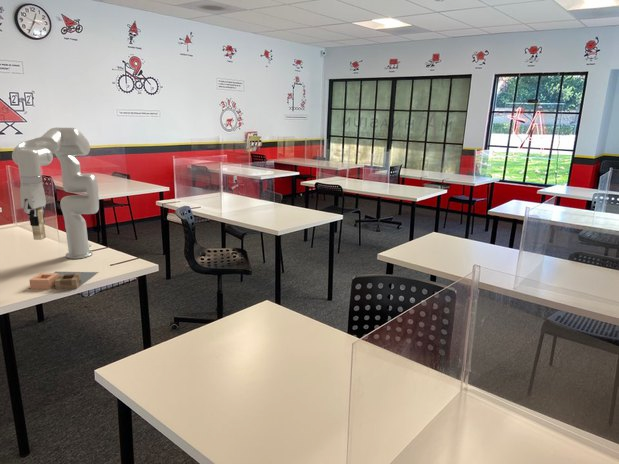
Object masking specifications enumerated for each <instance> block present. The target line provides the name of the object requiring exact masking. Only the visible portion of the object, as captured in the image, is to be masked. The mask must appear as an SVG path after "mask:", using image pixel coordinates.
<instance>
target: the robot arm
mask: <svg viewBox="0 0 619 464" xmlns="http://www.w3.org/2000/svg"><path fill="white" fill-rule="evenodd" d="M90 151H91V145H90V143H89V141H88V139H87V137H85V136H84V134H83V133H82V132H81V131H80V130H79V129H77V128H75V127H52V128H49V130H47V131H46V132H44V134H43V135H41V136H39V137H35V138H33V139H28V140H26V141H23V142H20V143H19V144H18V145H16V146H15V147H14V149H13V150H12V153H11V158H12V161H13V163H14V164H15V165H17V166H18V173H19V180H20V187H19V195H20V207H21V209H22V210H23V212H24V213H26V214H27V215H28V218H29V225H30V226H31V227H32V226H39V221H38V216H37V214H36V209H37V208H39V207H42V213H43V220H44V224H45V216H44V214H45V208H46V206H47V201H46V200H47V199H46V198H47V197H46V194H45V189H44V185H43V184H44V183H43V176H42V170H41V168H42V166H43V167H44V166H49V165H50V164H51V163H52V162H53V158H54V155H55V156H56V158H57V159H58V161H59V162H60V166H61V168H60V170H61V182H62V183H61V184H62V189H63V190H64V192H67V193H72V194H73V193H74V194H75V193H77V194H76V195H66V196H63V197H62V198H61V200H60V203H59V205H60V206H59V207H60V209H61V212H62V215H63V220H64V227H65V235H66V241H67V242H66V243H67V250H68V252H67V253H65V258H67V259H69V260H73V259H74V260H76V259H77V260H78V259H79V260H80V259H84V258H89V257H91V256H93V251H92V250H90V248H91V247H92V243H89V239H88V238H89V237H88V229H87V222H86V220H85V218H84V217H83V216H82V215H94V214H97V213H98V211H99V210H100V199H99V183H98V179H97V177H96V176H95V174H92V173H82V171H81V163H80V161H79V160H78V159H77V158H76V157H79V156H81V157H84V156H87V155H88V154H89V153H90ZM80 193H82V195H81V194H80ZM83 193H84V194H85V193H86V194H87V195H86V194H85V195H84V194H83ZM79 194H80V195H79ZM30 207H31V208H32V209H30ZM31 210H33V212H32V211H31Z"/></svg>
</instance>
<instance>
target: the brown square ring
mask: <svg viewBox="0 0 619 464" xmlns="http://www.w3.org/2000/svg"><path fill="white" fill-rule="evenodd" d="M80 283H81V276H80V273H74V274H60V275H59V276H58V278H57V279H56V280H55V286H56V289H55V291H59V290H60V291H62V290H70V289H76V288H77V289H79V288H78V286H79V284H80ZM77 289H76V290H77Z"/></svg>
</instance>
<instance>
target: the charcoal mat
mask: <svg viewBox="0 0 619 464" xmlns="http://www.w3.org/2000/svg"><path fill="white" fill-rule="evenodd" d="M53 273H59V275H60V274H74V273H80V276H81V283H80V284H79V286H78V288H76V289H69V290H74V291H76V290H78V289H79V288H80V287H81V286H83V285H84V284H86V283H87V282H88V281H89V280H91V279H92V278H93V277H95V276H96V275H97V274H98V273H100V272H99V271H98V272H97V271H55V272H53ZM28 289H29V290H32V289H31V288H30V287H29V288H28ZM50 290H56V286H54V287H52V288H51V289H50Z"/></svg>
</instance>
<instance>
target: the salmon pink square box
mask: <svg viewBox="0 0 619 464" xmlns="http://www.w3.org/2000/svg"><path fill="white" fill-rule="evenodd" d="M58 276H59V273H54V272H52V273H49V272H48V273H47V272H40V273H38V274H37V275H34V276H32V277H31V278H30V279H28V280H29V281H28V282H29V288H31V289H30V290H52V289H51V288H52V287H54V286H55V280H56V279H57V278H58Z"/></svg>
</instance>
